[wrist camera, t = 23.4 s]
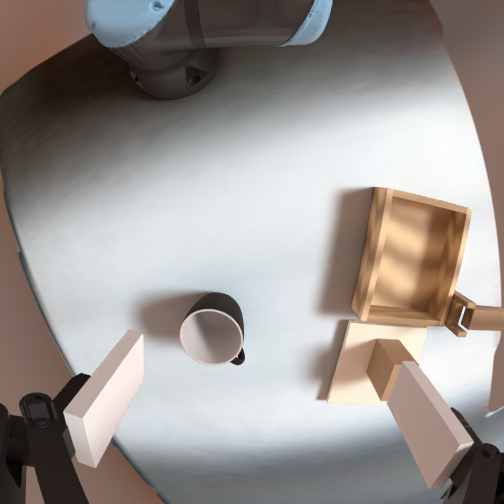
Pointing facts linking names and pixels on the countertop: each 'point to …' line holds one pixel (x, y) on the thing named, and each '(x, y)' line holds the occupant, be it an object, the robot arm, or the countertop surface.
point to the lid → (373, 360)
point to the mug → (214, 331)
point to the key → (484, 318)
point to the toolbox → (412, 261)
